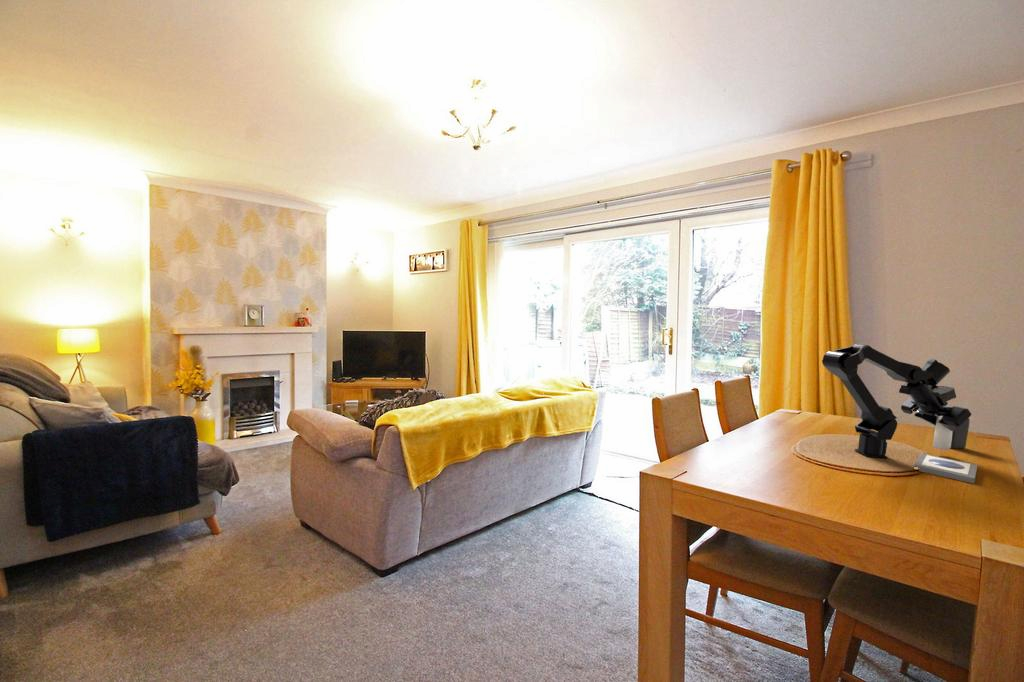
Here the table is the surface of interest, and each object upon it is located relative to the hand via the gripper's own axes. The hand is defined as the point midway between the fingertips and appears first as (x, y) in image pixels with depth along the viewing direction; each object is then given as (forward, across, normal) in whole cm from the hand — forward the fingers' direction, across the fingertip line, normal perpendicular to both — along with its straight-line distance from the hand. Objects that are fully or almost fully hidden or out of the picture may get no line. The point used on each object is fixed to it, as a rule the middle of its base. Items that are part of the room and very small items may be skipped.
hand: (947, 428), depth 157 cm
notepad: (-4, -13, +17) cm, 22 cm away
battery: (+16, +9, -3) cm, 19 cm away
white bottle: (+4, 0, +6) cm, 7 cm away
